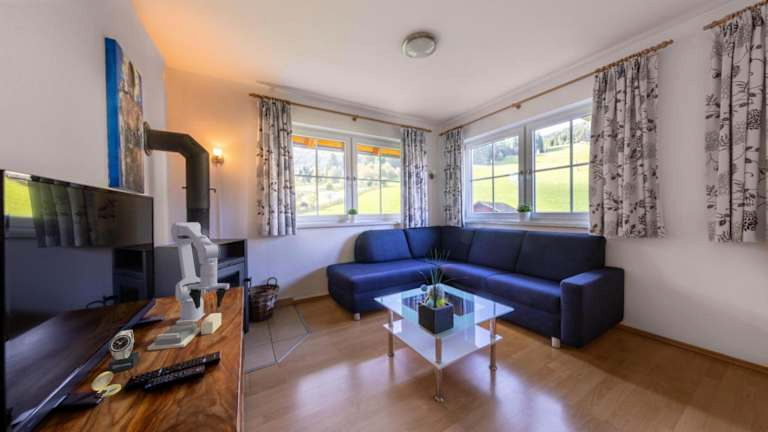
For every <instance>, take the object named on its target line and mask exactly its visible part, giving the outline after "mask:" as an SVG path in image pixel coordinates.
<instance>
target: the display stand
mask: <svg viewBox="0 0 768 432" xmlns="http://www.w3.org/2000/svg"><path fill="white" fill-rule="evenodd" d="M199 333H201V326H200V327H198V324H197V323H195V322H194V320H185V321H178V320H176V321H175V324H173V326H171V327H169V329H167V330H166V331H164V332H163V333H161V334H158V335H157V338H155V339H154V342H152V343H151V344H150V345H149V346H147V351H152V350H153V351H154V350H164V349H165V350H166V349H174V348H175V349H178V348H184V347H185V346H187V345H188V344H189V343H190V342H191V341H192V340H193V339H194V338H195V337H196V336H198V334H199Z"/></svg>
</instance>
